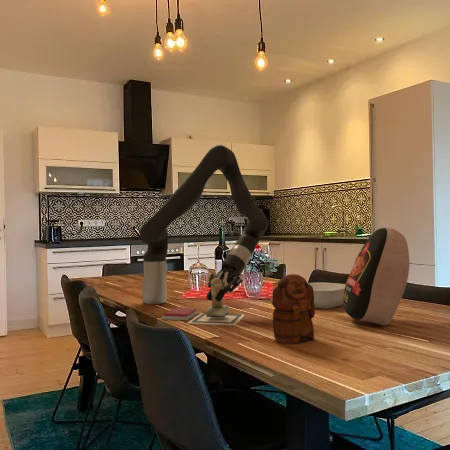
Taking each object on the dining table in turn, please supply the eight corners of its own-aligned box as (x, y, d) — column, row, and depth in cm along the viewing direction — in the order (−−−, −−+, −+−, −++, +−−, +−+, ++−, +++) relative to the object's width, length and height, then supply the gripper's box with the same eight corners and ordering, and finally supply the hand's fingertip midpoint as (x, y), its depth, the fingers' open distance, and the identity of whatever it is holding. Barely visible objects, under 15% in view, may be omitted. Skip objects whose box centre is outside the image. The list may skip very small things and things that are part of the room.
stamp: (206, 316, 153) (205, 279, 153) (211, 313, 159) (210, 276, 158) (224, 317, 151) (222, 279, 151) (228, 313, 157) (227, 276, 157)
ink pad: (162, 319, 156) (162, 313, 156) (174, 312, 168) (174, 307, 168) (187, 320, 154) (187, 314, 154) (198, 313, 166) (197, 307, 166)
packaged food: (337, 315, 158) (335, 228, 158) (394, 315, 157) (393, 227, 157) (352, 330, 136) (351, 228, 136) (420, 329, 135) (418, 227, 135)
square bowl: (283, 306, 179) (283, 286, 179) (312, 299, 194) (311, 280, 194) (330, 312, 165) (330, 291, 165) (357, 304, 180) (357, 284, 180)
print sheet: (187, 323, 149) (187, 321, 149) (201, 314, 164) (201, 312, 164) (235, 325, 145) (235, 323, 145) (245, 315, 161) (245, 313, 161)
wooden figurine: (285, 346, 120) (284, 277, 120) (270, 340, 126) (269, 274, 126) (319, 339, 126) (318, 274, 126) (304, 335, 132) (303, 272, 131)
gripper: (216, 252, 165) (192, 290, 156) (246, 254, 155) (222, 294, 146) (227, 266, 169) (203, 304, 160) (257, 268, 159) (233, 309, 150)
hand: (212, 299), depth 153 cm, fingers closed on stamp, 3 cm apart
